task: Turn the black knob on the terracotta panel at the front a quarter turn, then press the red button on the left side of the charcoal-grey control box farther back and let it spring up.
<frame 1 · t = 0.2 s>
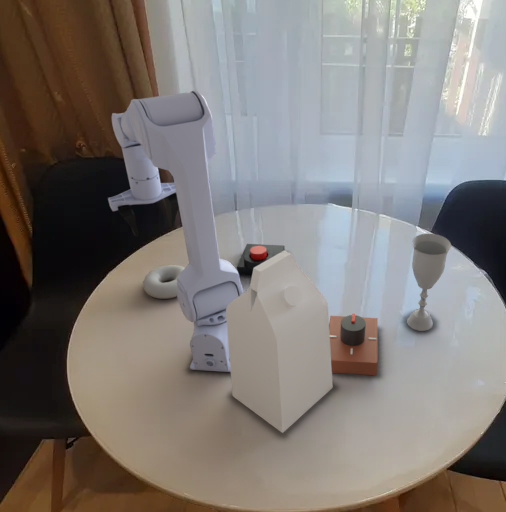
hand: (154, 228, 103), 11 cm above the table, tool pointing down, fingers open, 7 cm apart
control box: (262, 263, 112), on the table
milk: (283, 392, 81), on the table
start button: (258, 253, 107), point 4 cm above the table, slide at 0.1 cm
donut: (169, 288, 104), on the table
timer knob: (352, 329, 86), point 5 cm above the table, hinge at 0.0°
chalice: (419, 323, 96), on the table
timer panel: (352, 350, 89), on the table
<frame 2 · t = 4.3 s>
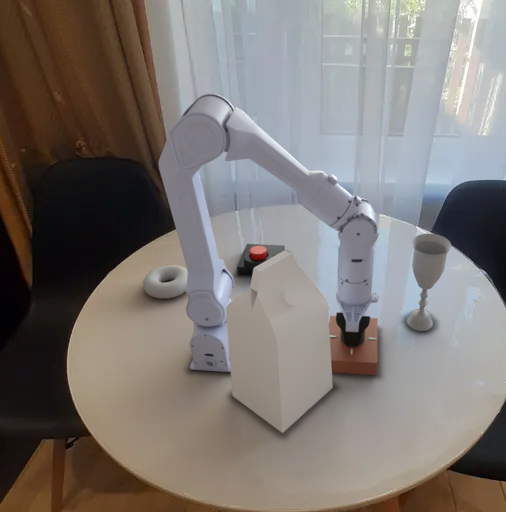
hand: (352, 335, 87), 4 cm above the table, tool pointing down, fingers closed on timer knob, 4 cm apart
timer knob: (352, 329, 86), point 5 cm above the table, hinge at -0.1°, touching gripper
everything else where it was.
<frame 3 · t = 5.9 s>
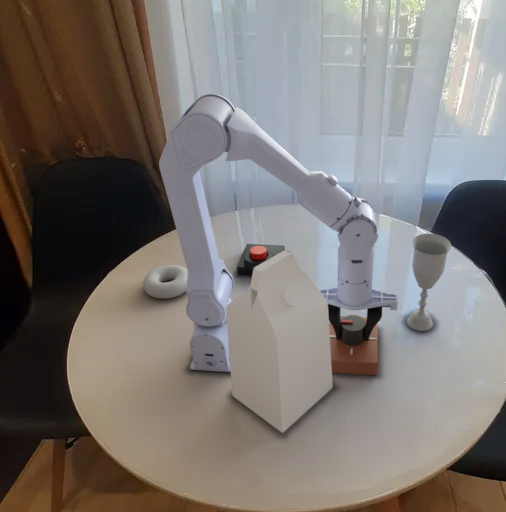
hand: (352, 336, 87), 3 cm above the table, tool pointing down, fingers closed on timer knob, 4 cm apart
timer knob: (352, 329, 86), point 5 cm above the table, hinge at 90.0°, touching gripper
everything else where it was.
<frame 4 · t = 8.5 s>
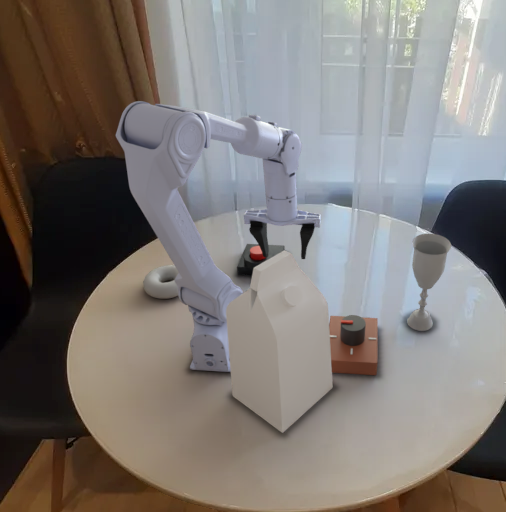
hand: (284, 255, 97), 9 cm above the table, tool pointing down, fingers open, 7 cm apart
timer knob: (352, 329, 86), point 5 cm above the table, hinge at 90.1°
everything else where it was.
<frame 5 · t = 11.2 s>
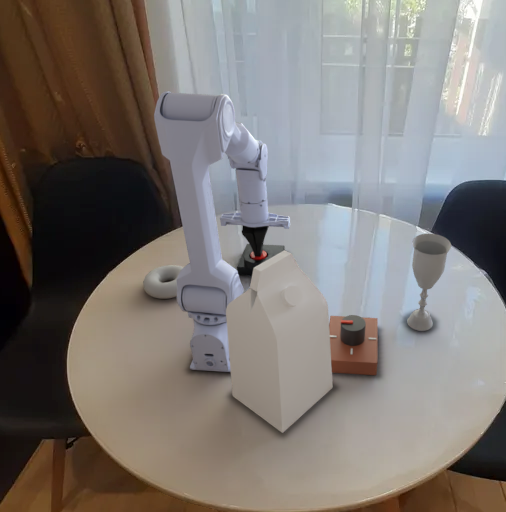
hand: (258, 254, 108), 4 cm above the table, tool pointing down, fingers closed, pressing on start button
start button: (258, 257, 108), point 3 cm above the table, slide at -1.0 cm, touching gripper
everything else where it was.
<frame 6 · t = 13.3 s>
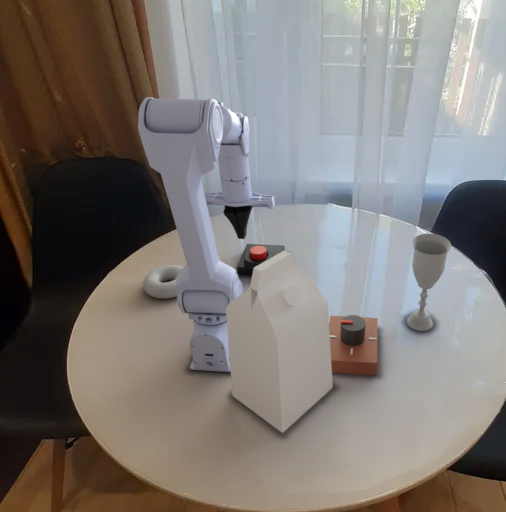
hand: (242, 236, 103), 10 cm above the table, tool pointing down, fingers closed
start button: (258, 253, 107), point 4 cm above the table, slide at 0.1 cm
everything else where it was.
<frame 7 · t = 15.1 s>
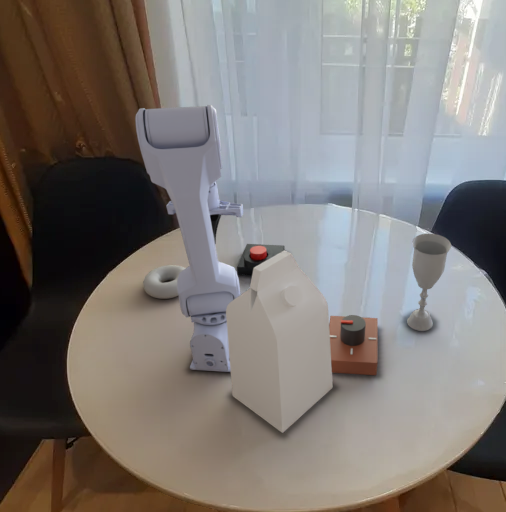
hand: (211, 245, 99), 10 cm above the table, tool pointing down, fingers closed
nothing on the table moved.
at the end: timer knob at +90° (first picture: +0°); start button pushed in 1.2 cm at the most during the clip, back to where it started at the end; start button slide at 0.1 cm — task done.
